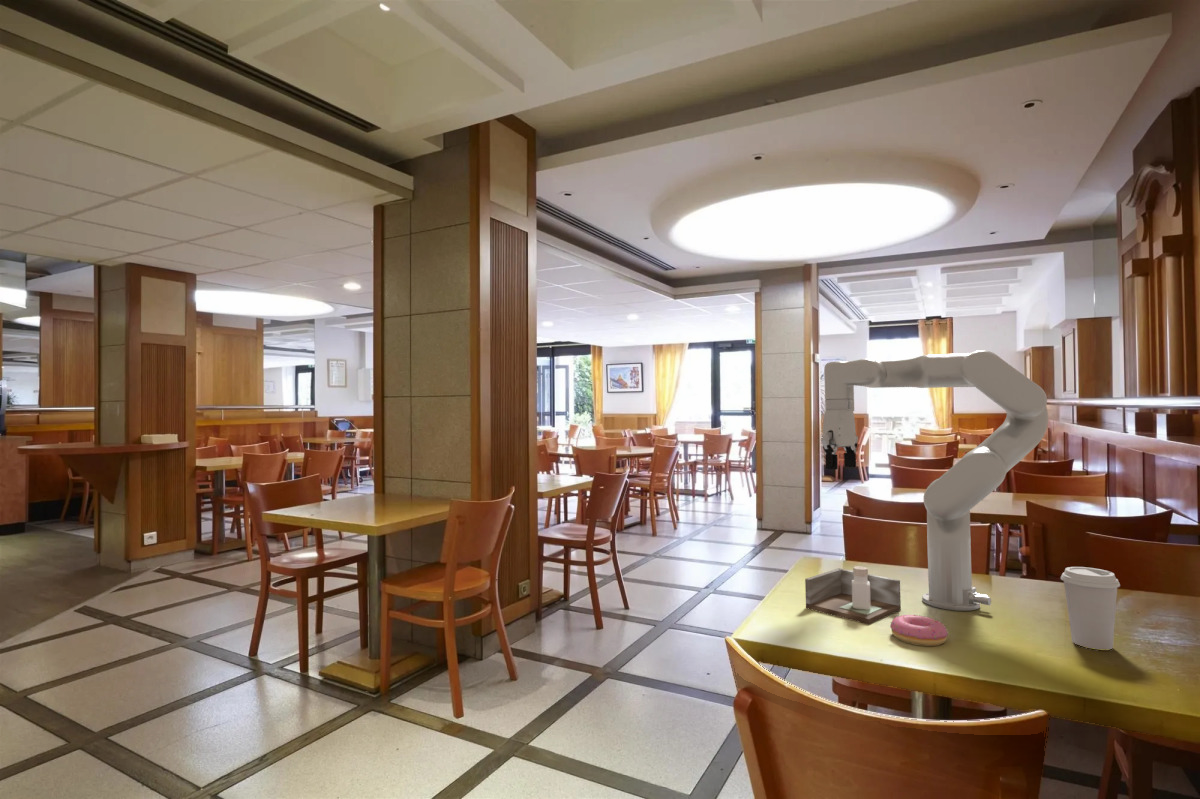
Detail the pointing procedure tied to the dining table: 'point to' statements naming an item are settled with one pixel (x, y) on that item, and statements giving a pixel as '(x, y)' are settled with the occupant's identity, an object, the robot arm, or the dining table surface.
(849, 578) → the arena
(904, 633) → the doughnut
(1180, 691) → the dining table surface
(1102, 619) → the coffee cup
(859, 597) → the salt shaker
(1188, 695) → the dining table surface
